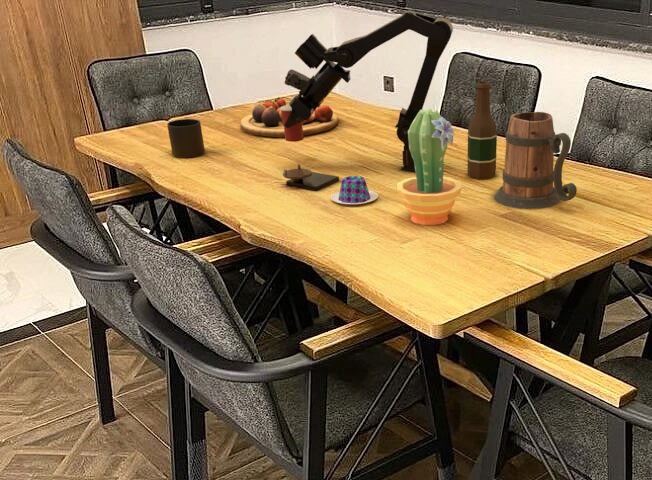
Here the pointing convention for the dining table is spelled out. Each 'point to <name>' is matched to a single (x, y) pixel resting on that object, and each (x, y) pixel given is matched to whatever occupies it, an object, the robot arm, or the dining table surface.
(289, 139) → the red cup with lid
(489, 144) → the beer bottle
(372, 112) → the dining table surface
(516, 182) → the tankard
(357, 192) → the pudding
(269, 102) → the wooden plate
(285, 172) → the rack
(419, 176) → the potted cactus
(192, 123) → the dark brown cup
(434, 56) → the robot arm
